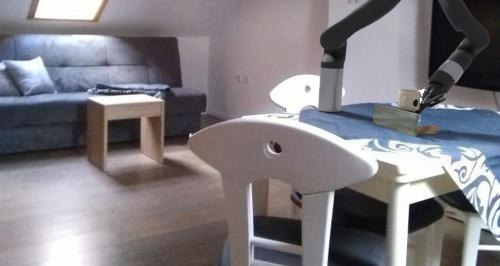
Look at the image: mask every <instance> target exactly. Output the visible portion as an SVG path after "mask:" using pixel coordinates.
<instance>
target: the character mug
mask: <svg viewBox="0 0 500 266" xmlns="http://www.w3.org/2000/svg"><path fill="white" fill-rule="evenodd" d="M419 90H420V89H419ZM419 90H418V89H407V88H406V89H399V90H398V92H397V105H396V106H397V108H396V109H400V110H404V111H408V112H412V113H415V111H416V110H419V107H420V95H421V90H420V91H419Z"/></svg>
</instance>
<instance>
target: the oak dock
mask: <svg viewBox="0 0 500 266" xmlns="http://www.w3.org/2000/svg"><path fill="white" fill-rule="evenodd" d="M419 120H420V114H416V113H412V112H408V111H404V110H400V109H398V108H395V107H392V106H388V105H384V104H381V103H374V105H373V115H372V124H374V125H377V126H380V127H384V128H386V129H389V130H392V131H395V132H399V133H402V134H406V135H407V136H412V137H418V136H422V135H432V134H433V135H435V134H439V131H440V126H439V125H436V124H434V125H433V124H432V125H419Z"/></svg>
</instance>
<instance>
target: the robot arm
mask: <svg viewBox="0 0 500 266" xmlns="http://www.w3.org/2000/svg"><path fill="white" fill-rule="evenodd" d="M401 1H402V0H363V1H362V2H361V3H359V4H358V5H357V6H356V7H354V8H353V9H352V10H351V11H350V12H349V13H347V14H346V15H345V16H344V17H342V18H341V19H340V20H338V21H336V22H335V23H333V24H332V25H330V26H328V27H327V28H325V29H323V31H322V32H321V34H320V37H319V43H320V46H321V47H322V48H323V55H322V58H321V60H320V67H319V68H320V70H319V87H318V104H317V106H318V107H317V109H318V112H327V113H328V112H329V113H330V112H331V113H337V112H341V111H342V102H343V100H342V99H343V86H344V85H343V84H344V82H343V81H344V70H345V69H344V68H345V62H346V58H347V57H346V56H347V49H348V46H347V45H348V40H349V38H351V37H352V36H353V35H355V33H357V32H359V31H360V30H362V29H365V28H367V27H369V26H370V25H372V24H374V23H376V22H377V21H379V20H380V19H382V18H384V17H385V16H386V15H387V14H389V13H390V12H391V11H393V10H394V9H395V8H396V7H397V6H398V5H399V4H400V3H401ZM437 2H438V4H439V5H440V7H441V9H442V11H443V13H444V14H445V16H446V18H447V19H448V21H449V23H450V25H451V27H453V29H454V30H455V31H456V32H462V33H463V34H464V35H465V37H464V39H463V40H462V41H461V42H460V43H459V45H458V46H457V47H456V49H455V51H453V52H452V53H451V54H450V56H449V57H448V58H447V59H446V61H444V62H443V63H442V64H441V65H440V66H439V67H438V69H436V70H435V72H434V73H433V74H432V75H431V76H430V78H429V79H428V84H427V85H425V87H424V88H423V89H422V90H420V89H419V88H418V89H417V90H419V91H421V95H420V107H419V110H416V111H415V113H416V114H419V115H420V114H421V113H423V111H424V110H425V109H427V108H429V109H431V108H433V107H436V106H438V105H439V104H441V103H443V102H445V101H446V100H447V98H446V96H445V94H448V93H449V92H450V90H452V89H453V87H454V86H455V84H456V83H457V82H458V81H459V79H460V78H461V77H462V75H463V74H464V73H465V71H466V70H467V69H468V68H469V67H470V65H471V64H472V61H473V60H474V59H475V58H476V56H477V55H479V53H481V51H483V50H484V49H486V48H487V47H488V46H489V44H490V41H491V37H490V33H489V32H488V30H487V29H486V28H485V26H483V25H482V24H481V23H480V22H479V21H478V20H477V19H476V18H474V17H473V14H472V13H471V11H470V9H469V8H468V6H467V5H466V3H465V2H464V0H437Z"/></svg>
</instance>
